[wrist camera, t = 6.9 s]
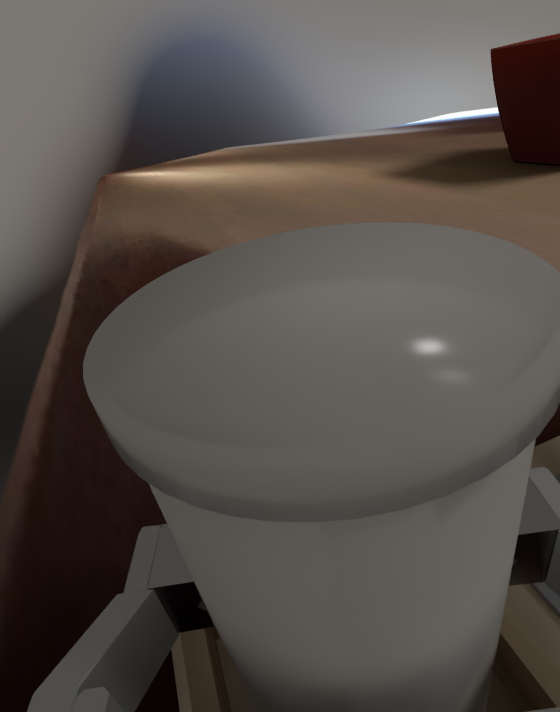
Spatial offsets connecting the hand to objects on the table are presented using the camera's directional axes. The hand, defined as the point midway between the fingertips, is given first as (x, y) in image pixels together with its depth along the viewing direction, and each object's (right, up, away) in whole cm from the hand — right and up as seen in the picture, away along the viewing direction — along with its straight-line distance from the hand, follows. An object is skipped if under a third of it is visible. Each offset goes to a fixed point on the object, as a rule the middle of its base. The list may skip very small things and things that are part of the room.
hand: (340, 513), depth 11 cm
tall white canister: (+1, -7, +5) cm, 9 cm away
